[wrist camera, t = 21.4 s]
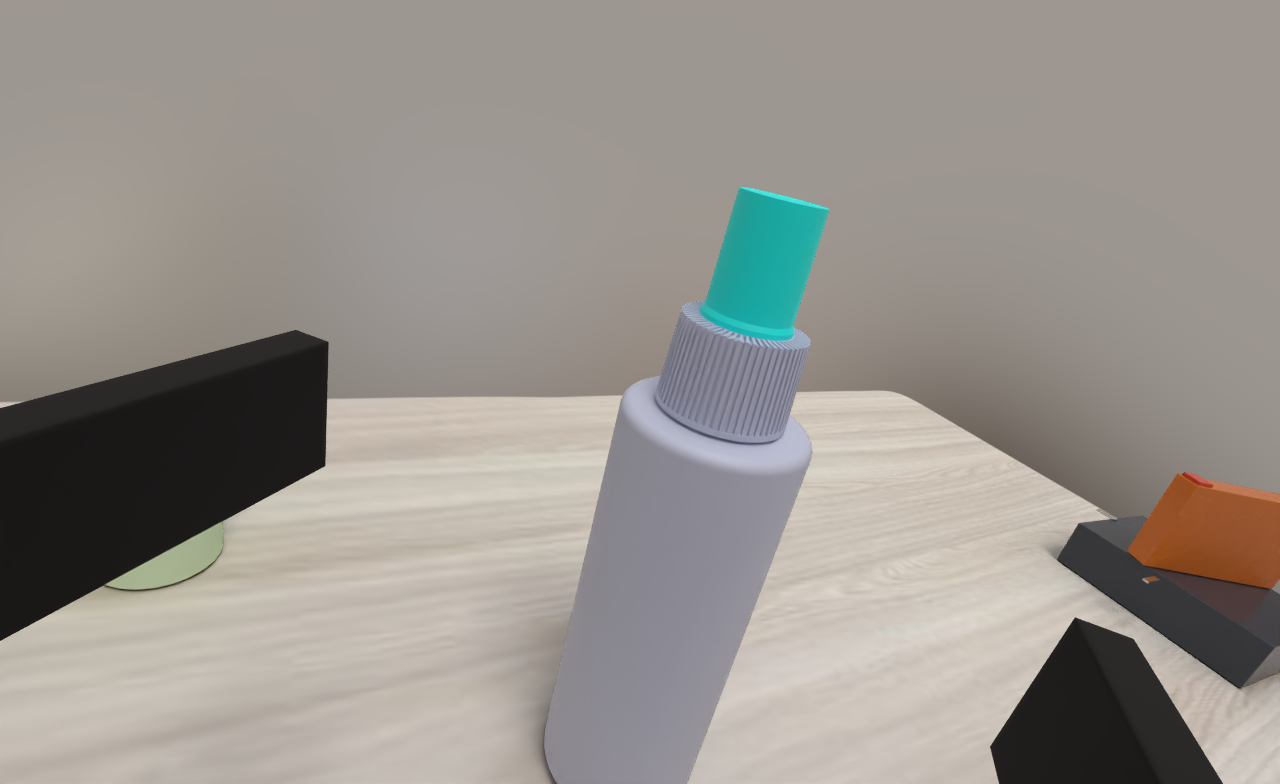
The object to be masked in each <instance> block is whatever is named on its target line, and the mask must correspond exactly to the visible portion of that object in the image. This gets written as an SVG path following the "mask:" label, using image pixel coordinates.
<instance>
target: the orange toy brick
mask: <svg viewBox="0 0 1280 784" xmlns="http://www.w3.org/2000/svg"><path fill="white" fill-rule="evenodd" d="M1127 551H1128V552H1129V553H1130V554H1131V555H1132V556H1133V557H1135V558H1136V559H1137V560H1138V561H1139V562H1140V563H1142V564H1143V565H1145V566H1150V567H1155V568H1161V569H1166V570H1171V571H1177V572H1182V573H1187V574H1193V575H1198V576H1204V577H1209V578H1214V579H1220V580H1225V581H1230V582H1236V583H1241V584H1246V585H1252V586H1257V587H1262V588H1268V589H1272V588H1273V587H1274V585H1275V584H1276V583H1277V581H1278V580H1279V579H1280V494H1275V493H1270V492H1266V491H1260V490H1256V489H1251V488H1246V487H1241V486H1236V485H1231V484H1226V483H1221V482H1216V481H1212V480H1207V479H1203V478H1201V477H1200V476H1198V475H1196V474H1190V473H1186V472H1184V473H1183V474H1177V475H1176V477H1175V478H1174V480H1173V481H1172V483H1171V484H1170V486H1169V487H1168V489H1167V490H1166V492H1165V493H1164V495H1163V496H1162V498H1161V499H1160V501H1159V502H1158V504H1157V505H1156V507H1155V508H1154V510H1153V512H1152V513H1151V515H1150V516H1149V518H1148V519H1147V521H1146V522H1145V524H1144V525H1143V527H1142V528H1141V530H1140V531H1139V533H1138V534H1137V536H1136V537H1135V539H1134V540H1133V542H1132V543H1131V545H1130V546H1129V548H1128V550H1127Z"/></svg>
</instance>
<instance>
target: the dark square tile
mask: <svg viewBox="0 0 1280 784" xmlns="http://www.w3.org/2000/svg"><path fill="white" fill-rule="evenodd" d="M1097 511H1098V512H1100V513H1102V514H1103V515H1105V516H1107V517H1108V518H1110V519H1109V520H1101V521H1093V522H1084V523H1079V524H1078V526H1077V527H1076V529H1075V530H1074V532H1073V534H1072V535H1071V537H1070V539H1069V540H1068V542H1067V544H1066V545H1065V547H1064V549H1063V550H1062V552H1061V554H1060V555H1059V557H1058V558H1057V560H1059V561H1060V562H1061V563H1063V564H1064V565H1066V566H1067V567H1068V568H1070V569H1071V570H1073V571H1074V572H1076V573H1077V574H1078V575H1080V576H1081V577H1083V578H1084V579H1085V580H1087V581H1088V582H1090V583H1091V584H1093V585H1094V586H1095V587H1097V588H1098V589H1100V590H1101V591H1102V592H1104V593H1105V594H1107V595H1108V596H1110V597H1111V598H1112V599H1114V600H1115V601H1117V602H1118V603H1120V604H1121V605H1122V606H1124V607H1125V608H1127V609H1128V610H1129V611H1131V612H1132V613H1134V614H1135V615H1137V616H1138V617H1139V618H1141V619H1142V620H1144V621H1145V622H1146V623H1148V624H1149V625H1151V626H1152V627H1154V628H1155V629H1156V630H1158V631H1159V632H1161V633H1162V634H1163V635H1165V636H1166V637H1168V638H1169V639H1171V640H1172V641H1173V642H1175V643H1176V644H1178V645H1179V646H1180V647H1182V648H1183V649H1185V650H1186V651H1188V652H1189V653H1190V654H1192V655H1193V656H1195V657H1196V658H1198V659H1199V660H1200V661H1202V662H1203V663H1205V664H1206V665H1207V666H1209V667H1210V668H1212V669H1213V670H1215V671H1216V672H1217V673H1219V674H1220V675H1222V676H1223V677H1224V678H1226V679H1227V680H1229V681H1230V682H1232V683H1233V684H1234V685H1236V686H1237V687H1239V688H1242V687H1245V686H1247V685H1250V684H1252V683H1254V682H1257V681H1259V680H1262V679H1264V678H1267V677H1269V676H1272V675H1274V674H1276V673H1279V672H1280V594H1278V593H1276V592H1275V591H1273V590H1271V589H1268V588H1262V587H1257V586H1252V585H1246V584H1241V583H1236V582H1230V581H1225V580H1220V579H1214V578H1209V577H1204V576H1198V575H1193V574H1187V573H1182V572H1177V571H1171V570H1166V569H1161V568H1155V567H1150V566H1145V565H1143V564H1142V563H1140V562H1139V561H1138V560H1137V559H1136V558H1135V557H1133V556H1132V555H1131V554H1130V553H1129V552H1128V551H1127V550H1128V548H1129V546H1130V545H1131V543H1132V542H1133V540H1134V539H1135V537H1136V536H1137V534H1138V533H1139V531H1140V530H1141V528H1142V527H1143V525H1144V524H1145V522H1146V521H1147V518H1146V517H1144V516H1135V517H1127V518H1118V519H1117V518H1115V517H1113V516H1112V515H1110V514H1108V513H1107V512H1105V511H1103V510H1102V509H1097Z"/></svg>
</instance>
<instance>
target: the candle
mask: <svg viewBox="0 0 1280 784" xmlns="http://www.w3.org/2000/svg"><path fill="white" fill-rule="evenodd" d="M223 543H224V541H223V523H222V522H220V523H218V524H216V525H215V526H213V527H211V528H209V529H207V530H205V531H203V532H202V533H200V534H198V535H196V536H194V537H192V538H190V539H189V540H187V541H185V542H183V543H181V544H179V545H177V546H176V547H174V548H172V549H170V550H168V551H166V552H164V553H163V554H161V555H159V556H157V557H155V558H153V559H151V560H150V561H148V562H146V563H144V564H142V565H140V566H138V567H137V568H135V569H133V570H131V571H129V572H127V573H125V574H124V575H122V576H120V577H118V578H116V579H114V580H112V581H111V582H109V583H107V584H105V585H107V586H111V587H115V588H119V589H134V590H140V589H150V588H158V587H162V586H166V585H170V584H174V583H177V582H179V581H182V580H184V579H187V578H189V577H191V576H193V575H195V574H196V573H198V572H200V571H202V570H204V569H205V568H206V567H208V566H209V565H210V564H211V563H212V562H213V561H215V560H216V558H217V557H218V555H219V554H220V553H221V551H222V547H223Z"/></svg>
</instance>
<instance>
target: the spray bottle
mask: <svg viewBox="0 0 1280 784" xmlns="http://www.w3.org/2000/svg"><path fill="white" fill-rule="evenodd" d="M828 213H829V209H828V208H825V207H822V206H819V205H816V204H813V203H809V202H805V201H801V200H798V199H794V198H790V197H786V196H782V195H778V194H774V193H770V192H765V191H761V190H756V189H751V188H746V187H739V190H738V193H737V197H736V200H735V204H734V207H733V210H732V213H731V217H730V220H729V224H728V227H727V230H726V234H725V237H724V241H723V244H722V248H721V251H720V254H719V258H718V261H717V265H716V268H715V271H714V274H713V278H712V281H711V285H710V288H709V292H708V295H707V298H706V301H705V302H691V303H688V304H686V305H684V306H683V307H682V309H681V313H680V316H679V319H678V322H677V325H676V329H675V332H674V335H673V338H672V341H671V345H670V348H669V351H668V355H667V358H666V361H665V364H664V367H663V370H662V374H661V376H658V377H652V378H648V379H644V380H641V381H639V382H637V383H635V384H633V385H632V386H631V387H629V388H628V389H627V391H626V392H625V393H624V395H623V397H622V399H621V402H620V407H619V411H618V415H617V420H616V424H615V428H614V433H613V437H612V441H611V446H610V450H609V454H608V459H607V463H606V467H605V472H604V476H603V480H602V485H601V489H600V493H599V498H598V502H597V506H596V511H595V515H594V519H593V524H592V528H591V532H590V537H589V541H588V545H587V550H586V554H585V558H584V563H583V567H582V571H581V576H580V580H579V584H578V589H577V593H576V597H575V602H574V606H573V610H572V615H571V619H570V623H569V628H568V632H567V636H566V641H565V645H564V649H563V654H562V658H561V662H560V666H559V671H558V675H557V679H556V684H555V688H554V692H553V697H552V701H551V705H550V710H549V714H548V718H547V723H546V728H545V737H544V746H545V754H546V760H547V763H548V766H549V769H550V771H551V773H552V775H553V777H554V779H555V781H556V783H557V784H687V782H688V780H689V777H690V775H691V772H692V769H693V767H694V764H695V761H696V759H697V756H698V754H699V751H700V748H701V746H702V743H703V741H704V738H705V735H706V733H707V730H708V727H709V725H710V722H711V720H712V717H713V714H714V712H715V709H716V706H717V704H718V701H719V699H720V696H721V693H722V691H723V688H724V686H725V683H726V680H727V678H728V675H729V672H730V670H731V667H732V665H733V662H734V659H735V657H736V654H737V652H738V649H739V646H740V644H741V641H742V638H743V636H744V633H745V631H746V628H747V625H748V623H749V620H750V617H751V615H752V612H753V610H754V607H755V604H756V602H757V599H758V597H759V594H760V591H761V589H762V586H763V583H764V581H765V578H766V576H767V573H768V570H769V568H770V565H771V563H772V560H773V557H774V555H775V552H776V549H777V547H778V544H779V542H780V539H781V536H782V534H783V531H784V528H785V526H786V523H787V521H788V518H789V515H790V513H791V510H792V508H793V505H794V502H795V500H796V497H797V494H798V492H799V489H800V487H801V484H802V481H803V479H804V476H805V473H806V471H807V468H808V466H809V463H810V460H811V456H812V444H811V441H810V438H809V436H808V434H807V432H806V431H805V430H804V428H803V427H802V426H801V425H800V424H799V423H798V422H797V421H796V420H795V419H794V418H793V417H792V416H791V415H790V412H791V408H792V405H793V402H794V398H795V395H796V391H797V387H798V385H799V381H800V378H801V374H802V371H803V367H804V364H805V361H806V358H807V354H808V351H809V347H810V344H811V342H810V339H809V338H808V337H807V335H805V333H802V331H799V329H797V328H795V327H794V322H795V319H796V315H797V312H798V309H799V306H800V303H801V299H802V296H803V293H804V290H805V287H806V283H807V280H808V277H809V274H810V271H811V267H812V264H813V261H814V258H815V254H816V251H817V248H818V245H819V242H820V238H821V235H822V232H823V229H824V225H825V222H826V219H827V215H828Z"/></svg>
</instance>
